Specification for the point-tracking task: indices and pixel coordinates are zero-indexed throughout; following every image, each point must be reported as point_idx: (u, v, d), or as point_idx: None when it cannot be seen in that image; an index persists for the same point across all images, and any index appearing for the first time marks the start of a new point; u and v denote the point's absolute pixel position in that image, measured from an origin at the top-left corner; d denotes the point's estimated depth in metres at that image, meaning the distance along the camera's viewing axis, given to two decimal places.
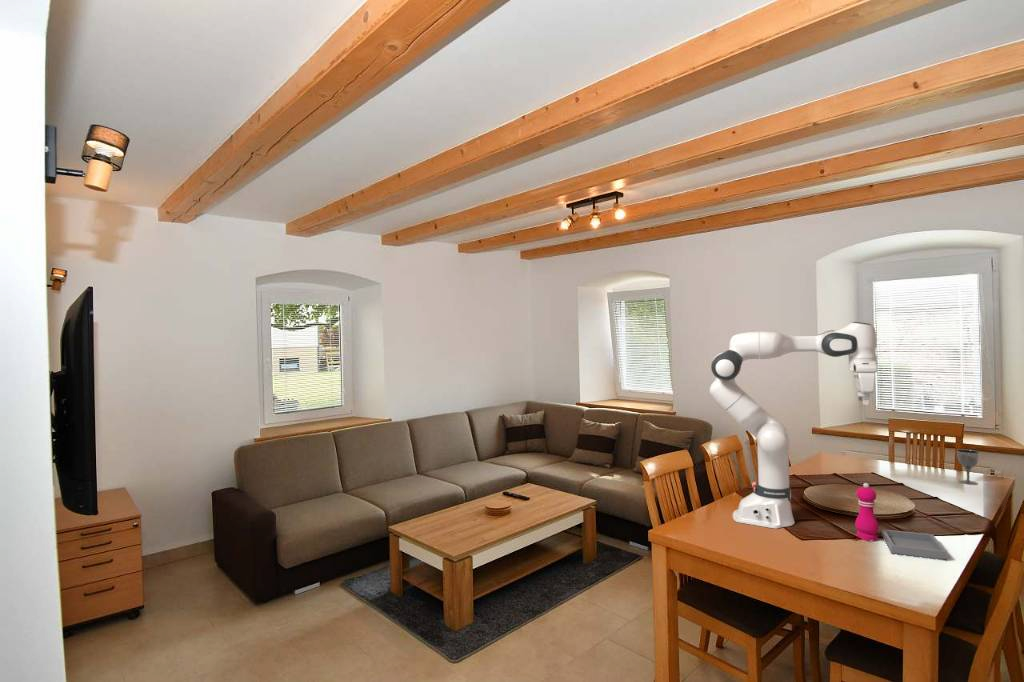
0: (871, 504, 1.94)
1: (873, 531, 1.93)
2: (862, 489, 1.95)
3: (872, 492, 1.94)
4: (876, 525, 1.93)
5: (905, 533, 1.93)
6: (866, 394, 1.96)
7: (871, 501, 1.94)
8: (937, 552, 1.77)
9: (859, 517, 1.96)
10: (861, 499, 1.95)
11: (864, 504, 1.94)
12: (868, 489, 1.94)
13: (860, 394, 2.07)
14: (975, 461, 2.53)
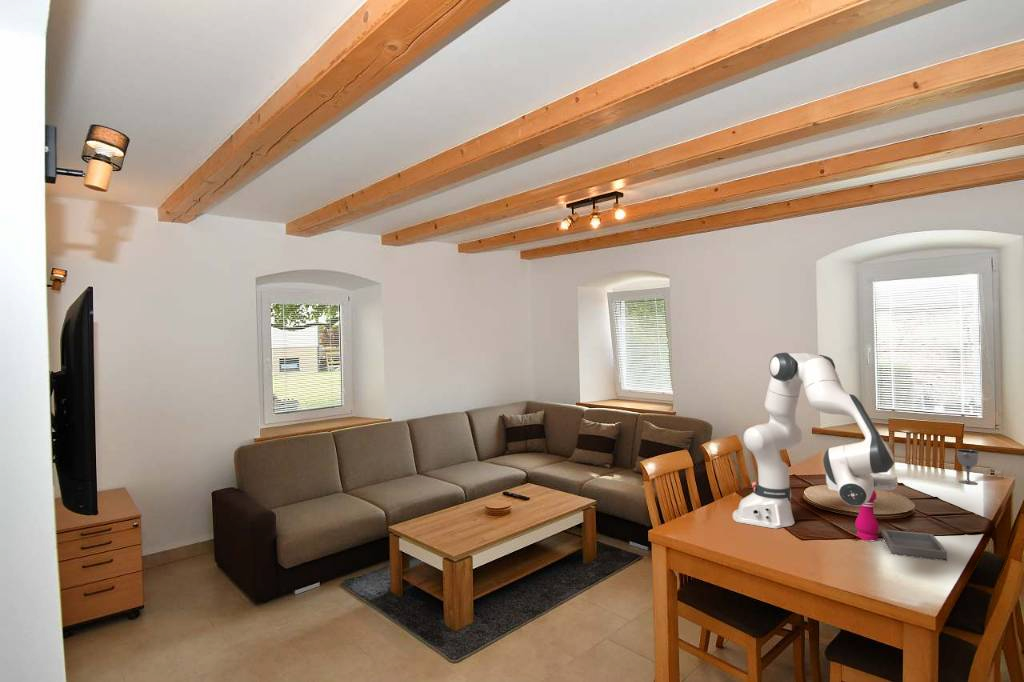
0: (871, 504, 1.94)
1: (873, 531, 1.93)
2: None
3: None
4: (876, 525, 1.93)
5: (905, 533, 1.93)
6: None
7: (871, 501, 1.94)
8: (937, 552, 1.77)
9: (859, 517, 1.96)
10: None
11: (864, 504, 1.94)
12: None
13: None
14: (975, 461, 2.53)
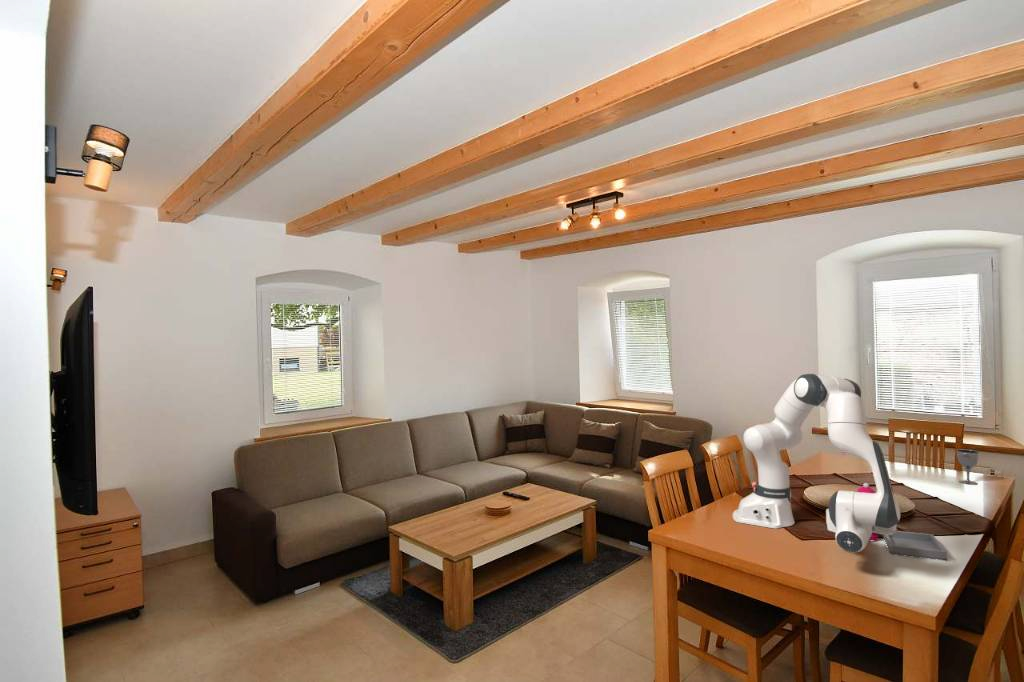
0: None
1: None
2: (862, 489, 1.95)
3: (872, 492, 1.94)
4: None
5: (905, 533, 1.93)
6: None
7: None
8: (937, 552, 1.77)
9: None
10: None
11: None
12: (868, 489, 1.94)
13: None
14: (975, 461, 2.53)
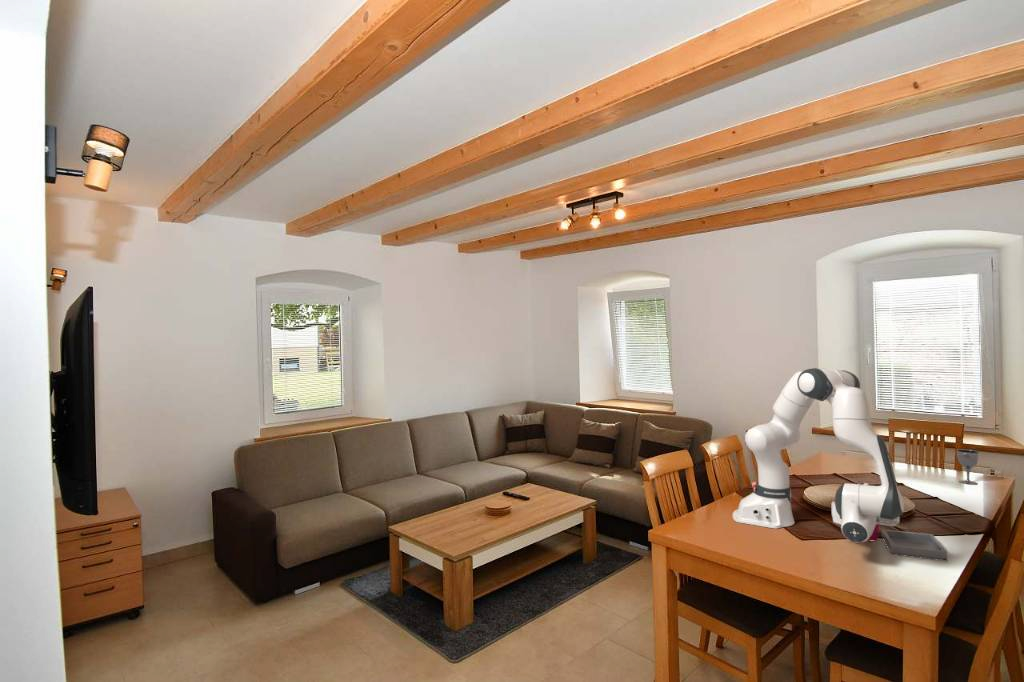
0: None
1: (873, 531, 1.93)
2: None
3: None
4: (876, 525, 1.93)
5: (905, 533, 1.93)
6: None
7: None
8: (937, 552, 1.77)
9: None
10: None
11: None
12: None
13: None
14: (975, 461, 2.53)
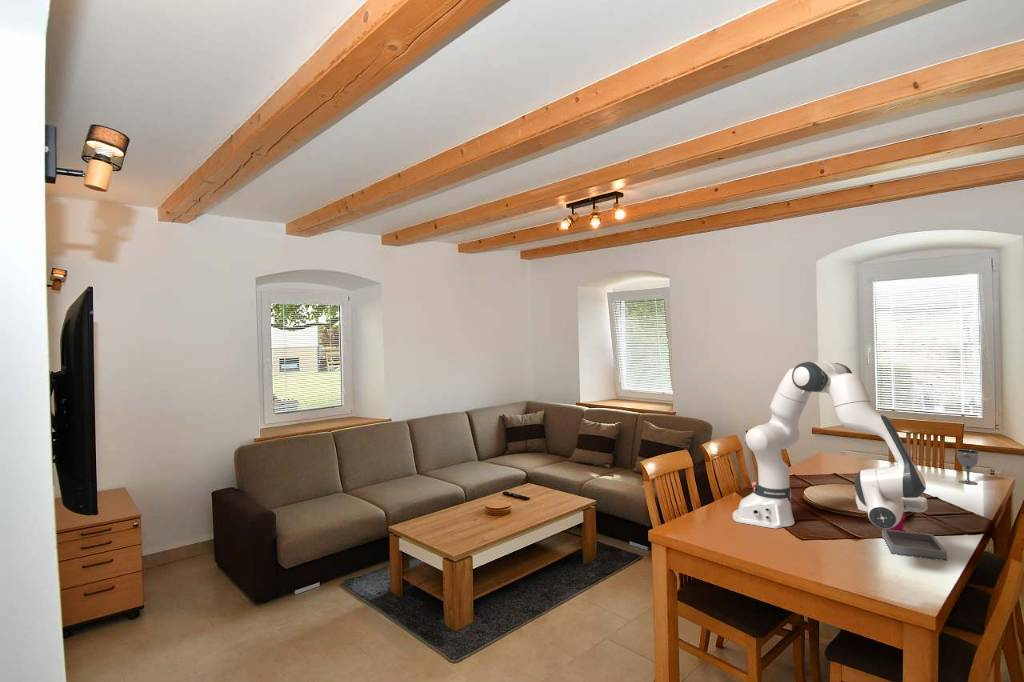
0: None
1: None
2: None
3: None
4: None
5: (905, 533, 1.93)
6: None
7: None
8: (937, 552, 1.77)
9: None
10: None
11: None
12: None
13: None
14: (975, 461, 2.53)
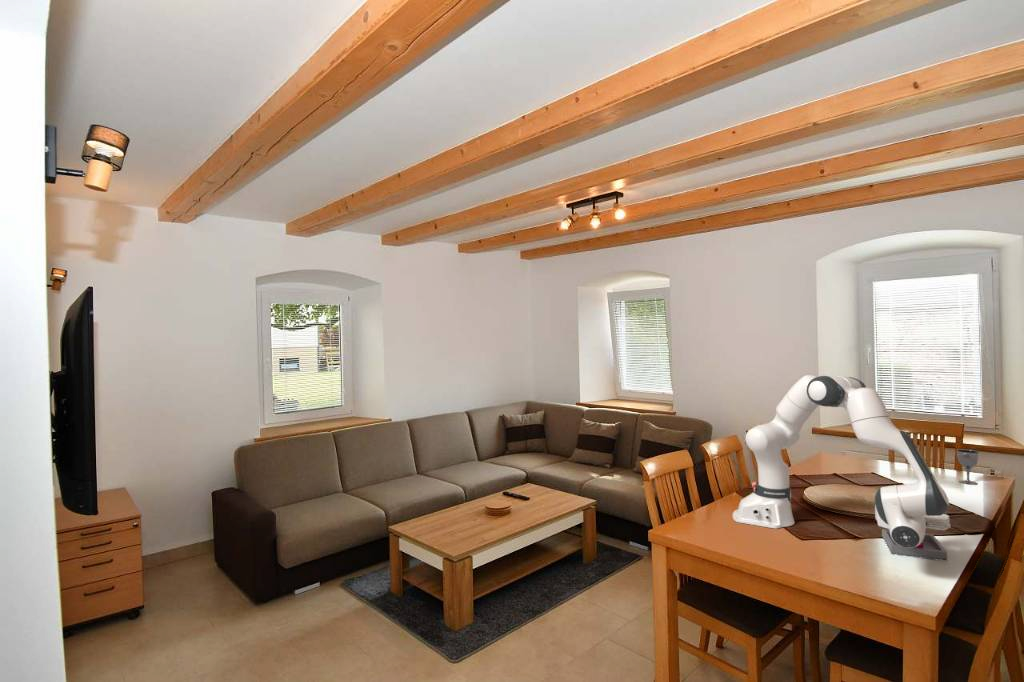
0: None
1: None
2: None
3: None
4: None
5: None
6: None
7: None
8: (937, 552, 1.77)
9: None
10: None
11: None
12: None
13: None
14: (975, 461, 2.53)
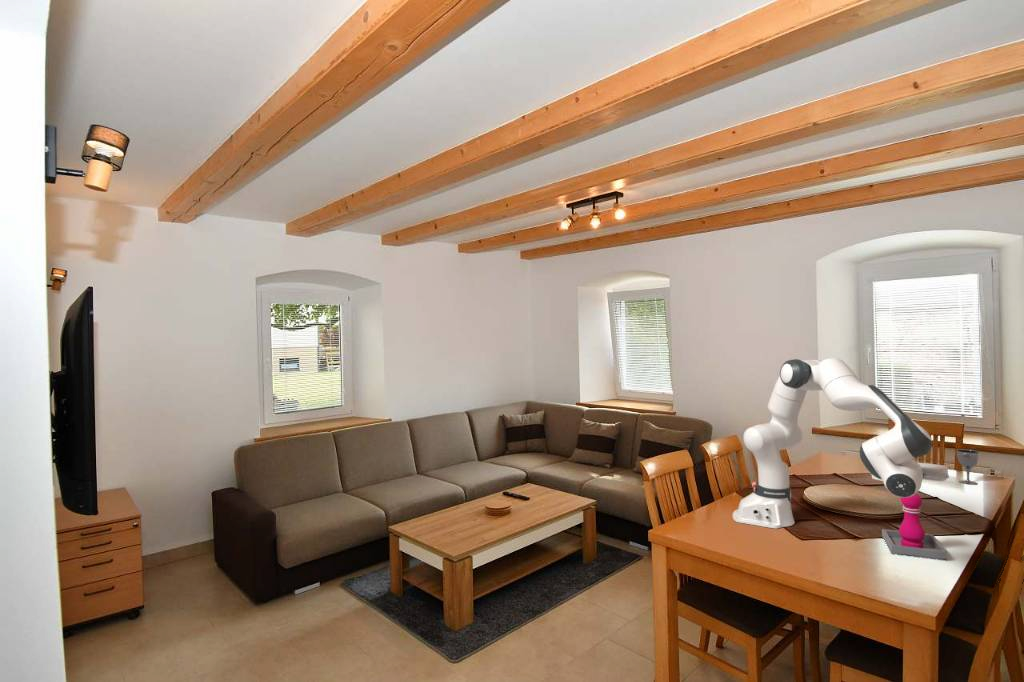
0: (917, 511, 1.84)
1: (919, 539, 1.83)
2: None
3: (918, 498, 1.84)
4: (922, 533, 1.84)
5: None
6: None
7: (917, 507, 1.84)
8: (937, 552, 1.77)
9: (904, 524, 1.87)
10: (906, 505, 1.86)
11: (909, 511, 1.85)
12: (914, 495, 1.85)
13: None
14: (975, 461, 2.53)
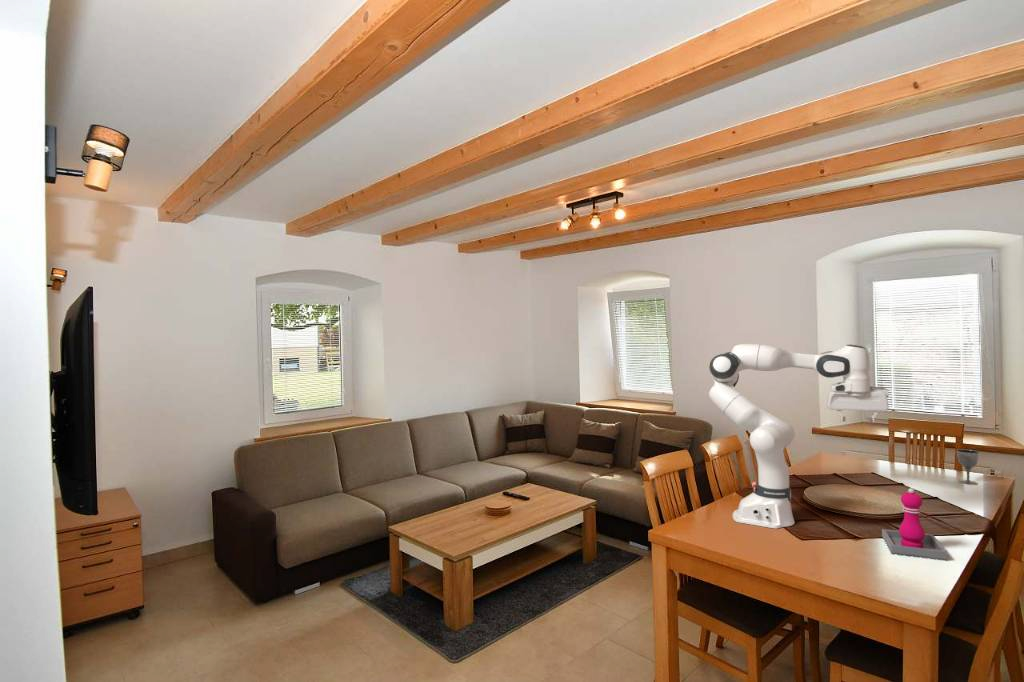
0: (917, 511, 1.84)
1: (919, 539, 1.83)
2: (907, 495, 1.86)
3: (918, 498, 1.84)
4: (922, 533, 1.84)
5: None
6: (837, 411, 2.14)
7: (917, 507, 1.84)
8: (937, 552, 1.77)
9: (904, 524, 1.87)
10: (906, 505, 1.86)
11: (909, 510, 1.85)
12: (914, 495, 1.85)
13: (872, 416, 2.10)
14: (975, 461, 2.53)
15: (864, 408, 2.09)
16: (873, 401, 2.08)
